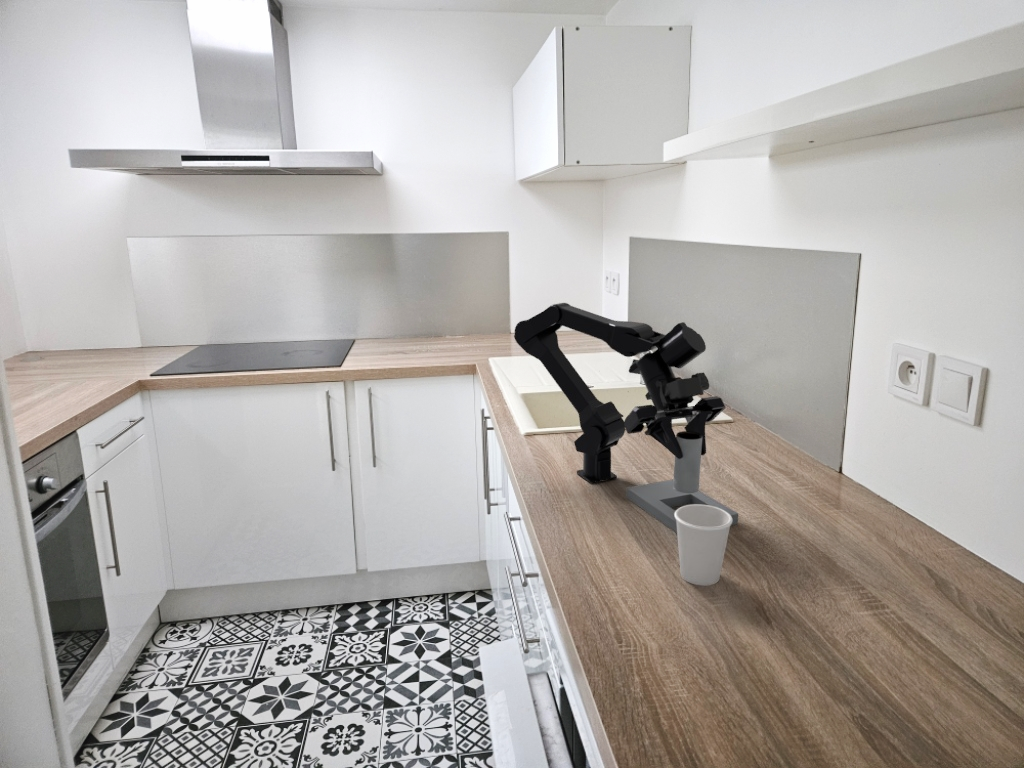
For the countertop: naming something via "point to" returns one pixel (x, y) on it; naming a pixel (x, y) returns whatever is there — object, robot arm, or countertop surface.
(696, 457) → the gray tube
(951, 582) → the countertop surface
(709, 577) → the dixie cup
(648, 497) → the socket board
